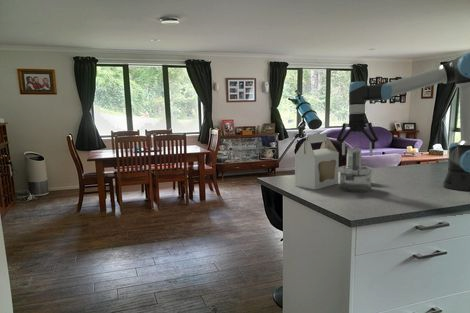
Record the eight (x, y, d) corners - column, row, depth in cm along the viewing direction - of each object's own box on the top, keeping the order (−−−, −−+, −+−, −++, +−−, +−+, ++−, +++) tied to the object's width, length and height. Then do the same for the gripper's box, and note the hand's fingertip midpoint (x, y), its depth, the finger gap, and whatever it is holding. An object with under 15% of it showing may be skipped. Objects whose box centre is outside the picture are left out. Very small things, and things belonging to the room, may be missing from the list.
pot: (375, 187, 179) (375, 166, 177) (365, 196, 161) (365, 173, 160) (344, 184, 187) (344, 164, 186) (331, 192, 170) (331, 170, 168)
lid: (368, 171, 177) (368, 151, 175) (363, 174, 168) (364, 153, 167) (348, 169, 182) (349, 150, 181) (343, 172, 174) (343, 152, 173)
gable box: (318, 180, 201) (319, 132, 197) (338, 183, 191) (339, 133, 188) (294, 186, 187) (294, 135, 183) (314, 190, 177) (314, 135, 173)
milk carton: (361, 182, 191) (361, 148, 189) (347, 182, 193) (348, 148, 190) (359, 180, 198) (359, 147, 196) (346, 179, 200) (346, 147, 197)
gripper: (385, 112, 168) (384, 155, 170) (334, 113, 181) (335, 153, 184) (382, 112, 161) (381, 157, 164) (330, 114, 175) (330, 155, 178)
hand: (357, 155), depth 174 cm, fingers open, 13 cm apart
